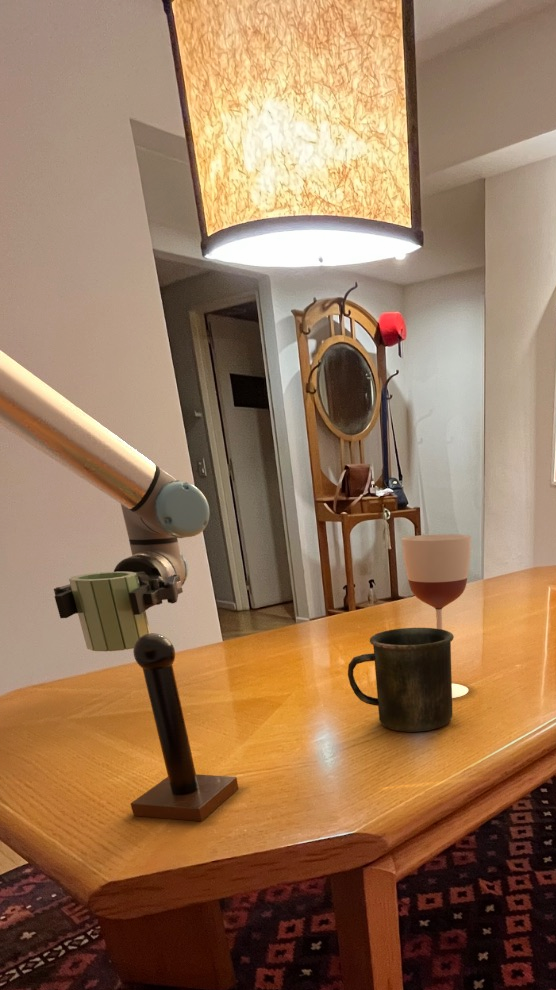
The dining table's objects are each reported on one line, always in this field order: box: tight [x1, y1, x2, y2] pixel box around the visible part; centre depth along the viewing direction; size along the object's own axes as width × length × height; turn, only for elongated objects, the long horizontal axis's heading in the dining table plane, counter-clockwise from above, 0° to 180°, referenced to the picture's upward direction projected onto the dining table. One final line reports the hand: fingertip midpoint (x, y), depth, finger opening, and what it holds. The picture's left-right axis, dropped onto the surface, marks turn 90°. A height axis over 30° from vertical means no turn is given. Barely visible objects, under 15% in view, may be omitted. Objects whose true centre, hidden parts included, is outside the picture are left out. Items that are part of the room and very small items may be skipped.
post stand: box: [130, 632, 239, 822], centre depth 70 cm, size 8×8×18 cm
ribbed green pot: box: [68, 571, 151, 652], centre depth 90 cm, size 8×8×9 cm
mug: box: [347, 627, 455, 733], centre depth 92 cm, size 11×15×12 cm
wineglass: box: [401, 533, 472, 699], centre depth 103 cm, size 9×10×23 cm
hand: (97, 605), depth 85 cm, fingers closed on ribbed green pot, 8 cm apart
